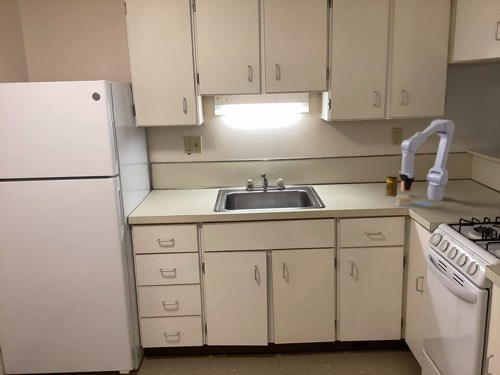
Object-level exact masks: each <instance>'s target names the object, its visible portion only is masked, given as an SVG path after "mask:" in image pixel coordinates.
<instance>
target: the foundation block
mask: <svg viewBox="0 0 500 375" xmlns="http://www.w3.org/2000/svg"><path fill="white" fill-rule="evenodd" d="M395 201H396V203H397V204H398V205H411V201H412V197H411V196H410V195H407V194H406V195H405V194H403V195H402V194H401V195H399V194H397V196H396V200H395Z"/></svg>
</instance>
